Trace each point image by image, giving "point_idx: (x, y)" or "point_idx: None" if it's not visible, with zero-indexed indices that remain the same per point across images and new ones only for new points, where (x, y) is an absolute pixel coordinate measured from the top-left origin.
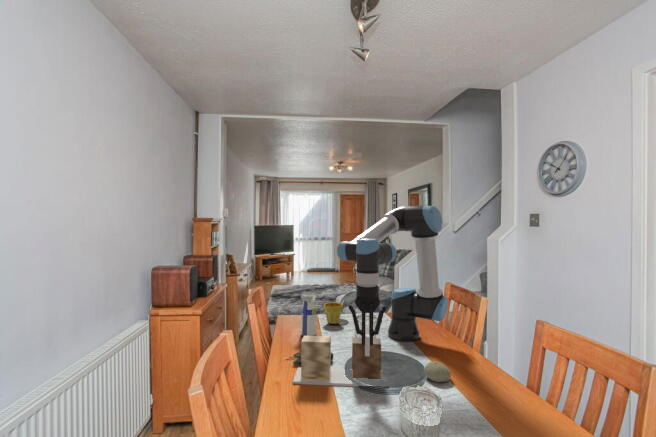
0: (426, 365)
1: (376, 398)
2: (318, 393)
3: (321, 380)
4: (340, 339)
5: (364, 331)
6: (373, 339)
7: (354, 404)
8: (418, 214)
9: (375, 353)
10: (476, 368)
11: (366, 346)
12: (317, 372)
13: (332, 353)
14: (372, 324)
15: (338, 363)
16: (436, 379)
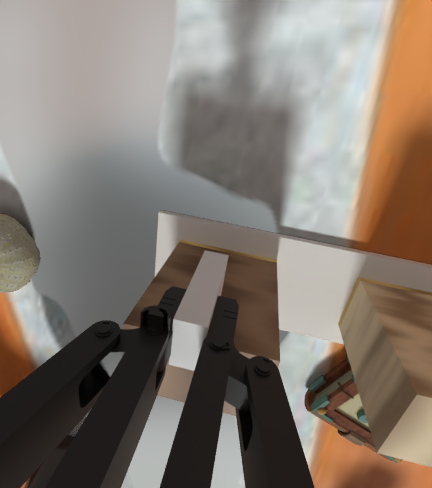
0: (15, 275)
1: (215, 147)
2: (423, 201)
3: (390, 274)
4: None
5: (205, 364)
6: None
7: (305, 111)
8: None
9: None
10: None
11: (212, 282)
12: (412, 300)
13: (309, 410)
14: (102, 406)
15: (291, 371)
16: (5, 216)
